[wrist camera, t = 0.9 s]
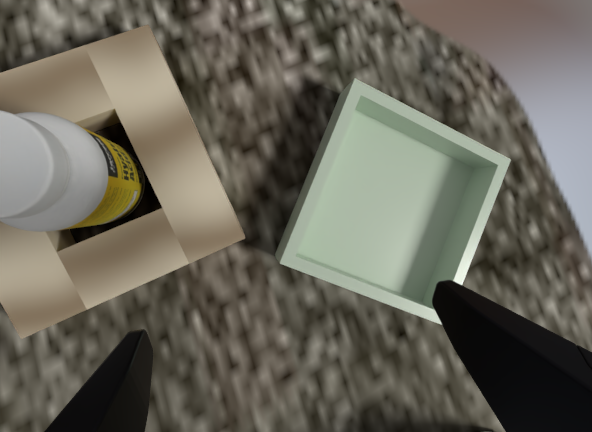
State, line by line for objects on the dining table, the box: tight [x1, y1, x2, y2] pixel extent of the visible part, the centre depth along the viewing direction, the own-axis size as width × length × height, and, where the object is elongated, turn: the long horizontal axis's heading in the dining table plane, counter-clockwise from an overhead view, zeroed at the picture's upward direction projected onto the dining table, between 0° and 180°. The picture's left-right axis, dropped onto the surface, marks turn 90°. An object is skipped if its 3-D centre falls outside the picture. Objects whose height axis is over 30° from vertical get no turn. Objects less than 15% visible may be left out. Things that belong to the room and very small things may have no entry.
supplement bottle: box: [0, 110, 145, 232], centre depth 16 cm, size 5×5×10 cm
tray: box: [274, 79, 511, 325], centre depth 23 cm, size 13×13×3 cm
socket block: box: [0, 25, 245, 339], centre depth 20 cm, size 14×14×2 cm
